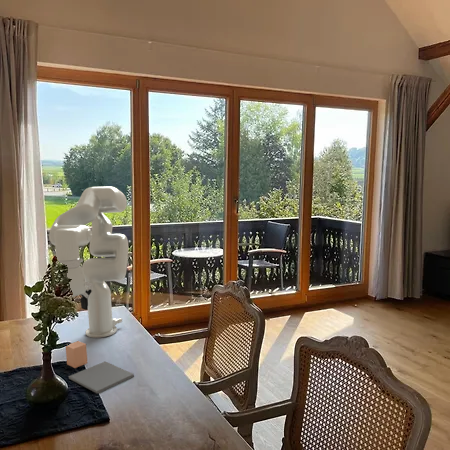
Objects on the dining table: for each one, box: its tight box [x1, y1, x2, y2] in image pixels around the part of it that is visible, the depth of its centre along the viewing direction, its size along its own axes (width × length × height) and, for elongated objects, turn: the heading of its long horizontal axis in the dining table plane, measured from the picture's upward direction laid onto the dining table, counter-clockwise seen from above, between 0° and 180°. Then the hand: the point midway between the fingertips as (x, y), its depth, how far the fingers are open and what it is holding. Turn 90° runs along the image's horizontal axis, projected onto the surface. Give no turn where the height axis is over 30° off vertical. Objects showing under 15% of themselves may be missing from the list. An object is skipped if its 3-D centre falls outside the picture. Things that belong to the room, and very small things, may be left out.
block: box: [65, 340, 88, 369], centre depth 158 cm, size 5×5×7 cm
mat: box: [68, 361, 135, 394], centre depth 148 cm, size 14×16×1 cm
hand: (72, 312), depth 156 cm, fingers open, 9 cm apart
